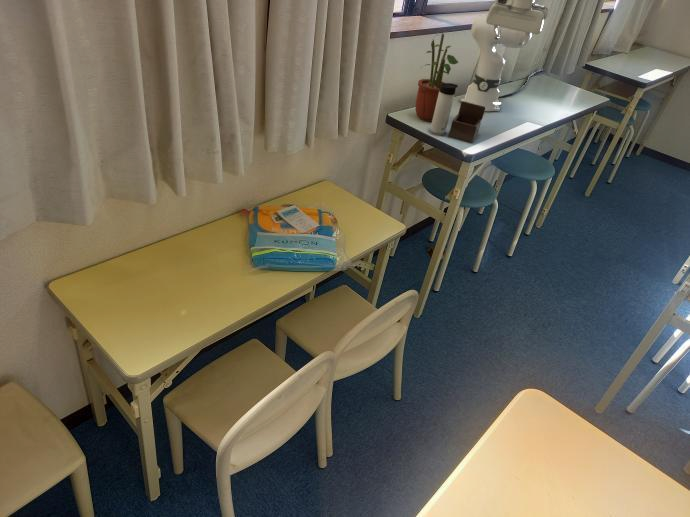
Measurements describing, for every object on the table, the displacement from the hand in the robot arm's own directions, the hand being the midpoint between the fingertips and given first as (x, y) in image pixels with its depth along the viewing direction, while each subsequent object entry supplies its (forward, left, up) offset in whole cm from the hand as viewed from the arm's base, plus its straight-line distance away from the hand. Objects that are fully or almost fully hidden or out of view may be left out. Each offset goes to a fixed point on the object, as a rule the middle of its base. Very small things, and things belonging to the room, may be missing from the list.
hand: (508, 41), depth 182 cm
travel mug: (+10, -16, -37) cm, 42 cm away
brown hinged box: (+6, -6, -37) cm, 38 cm away
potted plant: (-4, -26, -37) cm, 45 cm away
